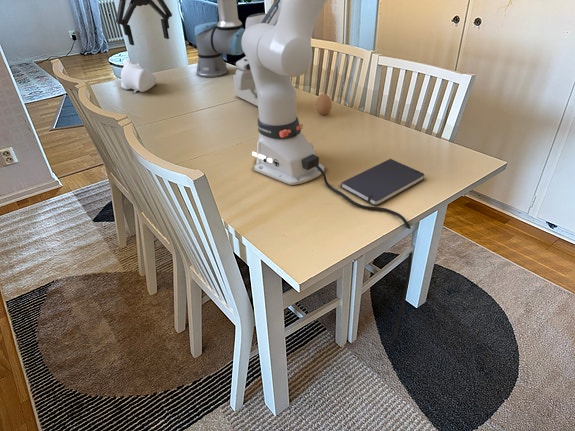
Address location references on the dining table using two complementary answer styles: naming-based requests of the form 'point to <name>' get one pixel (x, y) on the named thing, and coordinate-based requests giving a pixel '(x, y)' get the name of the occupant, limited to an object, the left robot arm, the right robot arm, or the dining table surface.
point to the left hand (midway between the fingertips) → (149, 41)
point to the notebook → (382, 181)
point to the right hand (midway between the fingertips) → (261, 96)
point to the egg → (323, 104)
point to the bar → (245, 93)
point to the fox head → (136, 77)
